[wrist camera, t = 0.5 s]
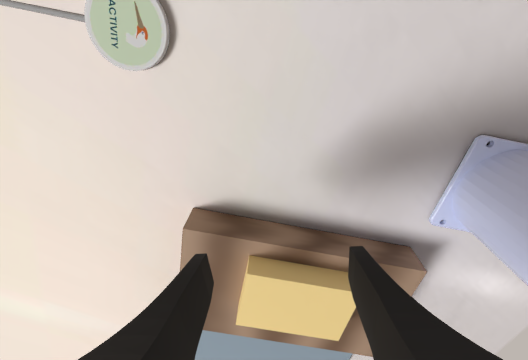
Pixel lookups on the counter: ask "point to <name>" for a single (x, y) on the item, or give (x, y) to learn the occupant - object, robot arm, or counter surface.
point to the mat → (258, 349)
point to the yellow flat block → (295, 299)
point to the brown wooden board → (290, 250)
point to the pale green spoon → (120, 29)
